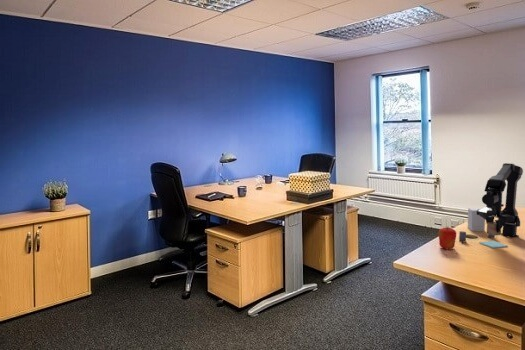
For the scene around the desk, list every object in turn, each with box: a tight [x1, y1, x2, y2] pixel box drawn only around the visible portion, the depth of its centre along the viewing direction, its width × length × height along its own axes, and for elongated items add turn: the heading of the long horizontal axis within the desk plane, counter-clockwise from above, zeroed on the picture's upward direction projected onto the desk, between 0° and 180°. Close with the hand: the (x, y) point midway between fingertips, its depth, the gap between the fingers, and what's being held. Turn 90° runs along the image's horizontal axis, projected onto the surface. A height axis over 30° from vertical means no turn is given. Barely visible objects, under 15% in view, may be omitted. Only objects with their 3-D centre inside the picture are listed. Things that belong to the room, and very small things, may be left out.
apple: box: [437, 226, 457, 250], centre depth 195 cm, size 9×8×12 cm
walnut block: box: [486, 221, 502, 236], centre depth 197 cm, size 4×4×6 cm
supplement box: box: [467, 207, 486, 232], centre depth 227 cm, size 7×7×13 cm
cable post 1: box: [458, 230, 467, 243], centre depth 207 cm, size 3×3×5 cm
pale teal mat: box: [478, 240, 508, 249], centre depth 198 cm, size 9×9×1 cm
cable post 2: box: [487, 234, 496, 239], centre depth 211 cm, size 3×3×5 cm
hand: (493, 231), depth 197 cm, fingers closed on walnut block, 4 cm apart
